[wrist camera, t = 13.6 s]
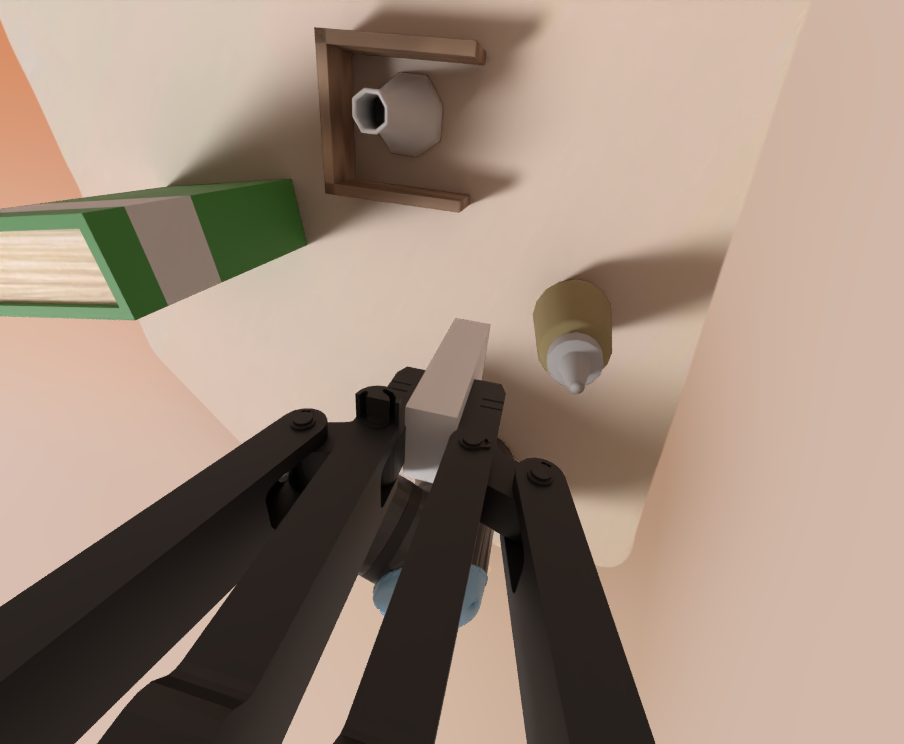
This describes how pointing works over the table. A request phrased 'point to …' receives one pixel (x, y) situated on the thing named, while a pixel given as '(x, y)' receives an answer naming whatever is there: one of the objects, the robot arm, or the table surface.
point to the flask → (401, 113)
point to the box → (337, 108)
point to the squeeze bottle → (573, 332)
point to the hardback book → (140, 247)
